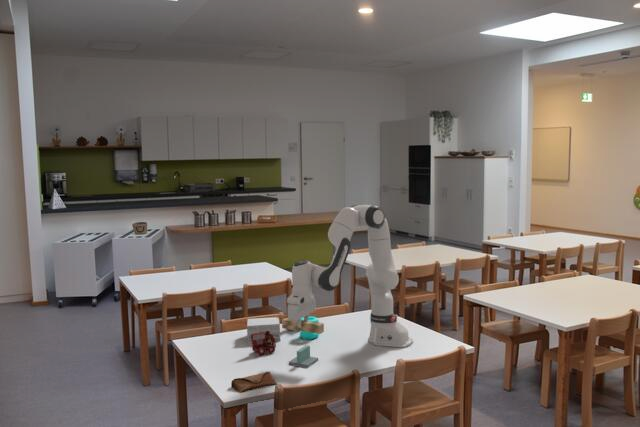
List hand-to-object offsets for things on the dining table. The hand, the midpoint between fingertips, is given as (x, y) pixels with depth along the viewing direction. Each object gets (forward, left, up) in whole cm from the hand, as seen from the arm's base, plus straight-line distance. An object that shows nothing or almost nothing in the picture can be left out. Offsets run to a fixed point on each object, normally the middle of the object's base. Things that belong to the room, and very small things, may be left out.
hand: (302, 325), depth 263 cm
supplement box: (+36, -23, -18) cm, 46 cm away
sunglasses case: (+6, +32, -18) cm, 37 cm away
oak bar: (0, 0, -2) cm, 2 cm away
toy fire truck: (+24, -4, -18) cm, 30 cm away
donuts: (+15, -34, -18) cm, 41 cm away
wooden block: (+28, -44, -18) cm, 55 cm away
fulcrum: (0, 0, -17) cm, 17 cm away
